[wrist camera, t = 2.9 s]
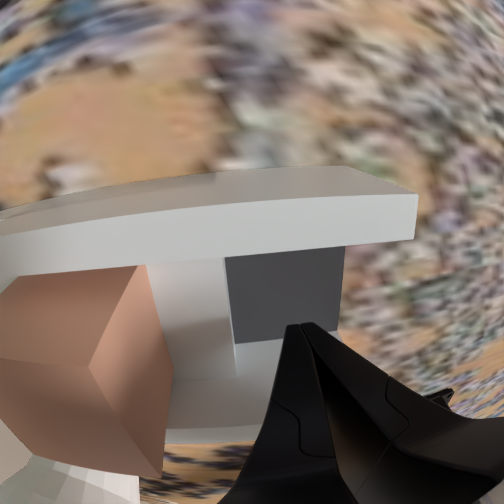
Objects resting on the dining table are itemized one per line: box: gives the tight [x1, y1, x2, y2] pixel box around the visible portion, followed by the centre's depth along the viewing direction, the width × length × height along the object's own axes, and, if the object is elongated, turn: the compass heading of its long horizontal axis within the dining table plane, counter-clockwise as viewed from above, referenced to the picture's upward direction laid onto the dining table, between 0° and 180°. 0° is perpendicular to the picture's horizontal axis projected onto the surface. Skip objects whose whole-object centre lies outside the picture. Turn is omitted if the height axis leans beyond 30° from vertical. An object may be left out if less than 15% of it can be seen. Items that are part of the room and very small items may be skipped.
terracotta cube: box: [0, 265, 174, 478], centre depth 8 cm, size 5×5×5 cm
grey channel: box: [0, 166, 418, 444], centre depth 10 cm, size 9×20×5 cm, turn 94°
